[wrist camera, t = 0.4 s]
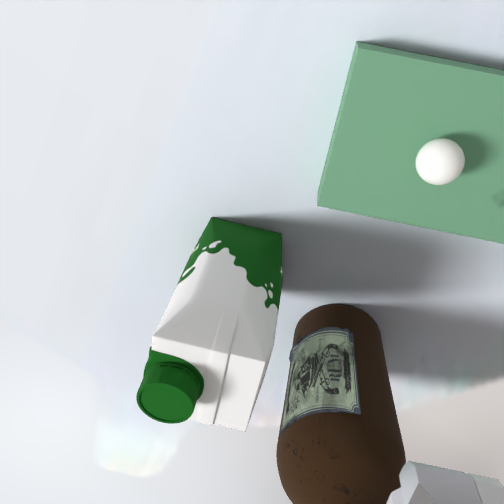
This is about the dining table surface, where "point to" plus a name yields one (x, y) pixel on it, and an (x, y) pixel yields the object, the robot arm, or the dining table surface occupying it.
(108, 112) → the dining table surface
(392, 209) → the putting mat
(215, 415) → the milk carton
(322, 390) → the brown cylinder
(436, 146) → the golf ball
